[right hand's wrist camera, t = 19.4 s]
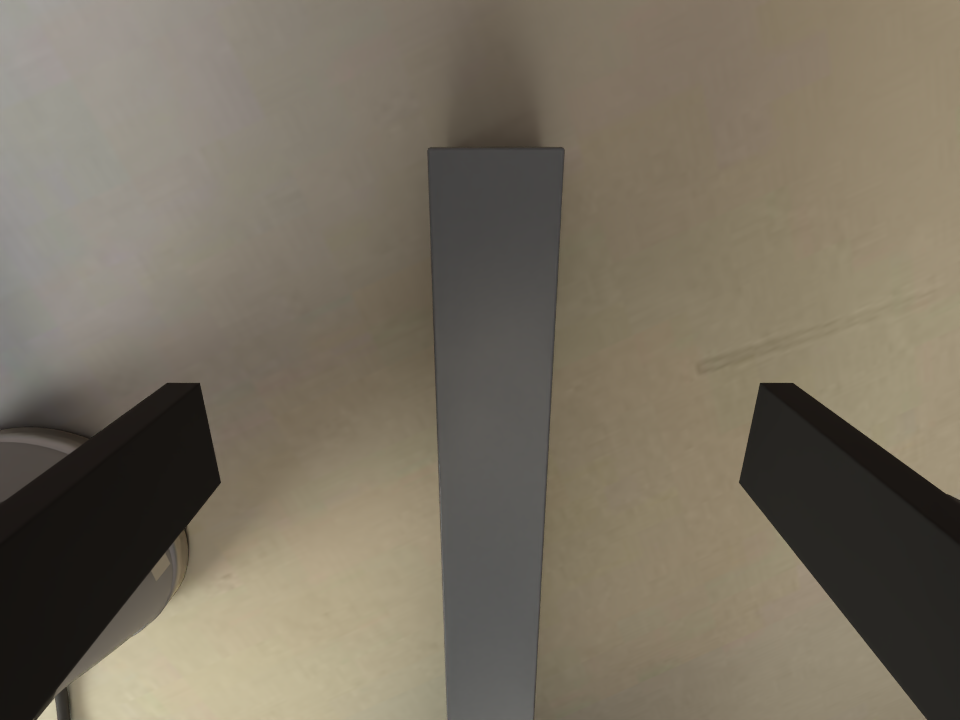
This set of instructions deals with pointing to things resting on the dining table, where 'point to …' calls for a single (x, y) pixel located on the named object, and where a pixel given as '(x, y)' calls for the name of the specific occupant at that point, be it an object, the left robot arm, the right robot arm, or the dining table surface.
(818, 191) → the dining table surface
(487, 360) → the beam
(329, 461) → the dining table surface
